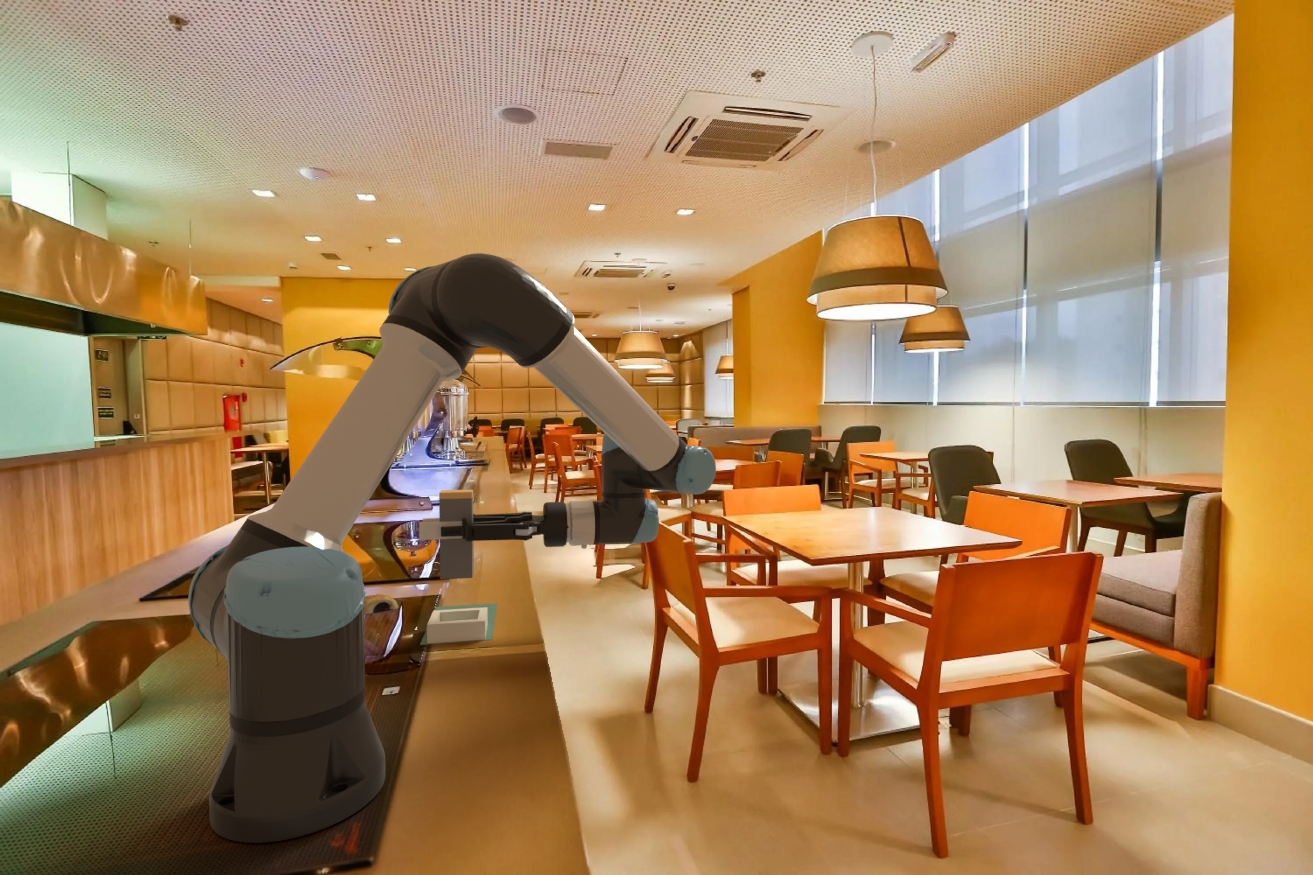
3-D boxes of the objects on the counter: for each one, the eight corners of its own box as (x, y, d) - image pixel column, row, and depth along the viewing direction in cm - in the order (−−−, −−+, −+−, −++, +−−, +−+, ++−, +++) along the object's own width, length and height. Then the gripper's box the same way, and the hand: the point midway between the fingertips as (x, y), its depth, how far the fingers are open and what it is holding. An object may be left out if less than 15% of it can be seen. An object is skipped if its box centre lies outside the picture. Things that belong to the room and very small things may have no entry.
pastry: (350, 610, 123) (349, 590, 123) (386, 604, 127) (386, 585, 127) (364, 622, 116) (363, 601, 116) (402, 615, 120) (402, 595, 120)
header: (485, 639, 103) (484, 620, 103) (427, 643, 101) (427, 624, 101) (487, 624, 111) (487, 607, 110) (433, 627, 109) (433, 610, 109)
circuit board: (492, 646, 103) (492, 639, 103) (419, 652, 101) (419, 644, 101) (497, 609, 123) (497, 603, 123) (436, 613, 121) (436, 606, 121)
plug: (472, 577, 105) (471, 492, 104) (440, 579, 104) (439, 492, 103) (473, 572, 108) (473, 489, 108) (442, 574, 107) (441, 490, 107)
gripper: (571, 556, 102) (413, 563, 97) (563, 536, 118) (428, 541, 113) (571, 509, 101) (413, 513, 96) (563, 495, 118) (428, 499, 113)
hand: (421, 528), depth 105 cm, fingers closed on plug, 4 cm apart
